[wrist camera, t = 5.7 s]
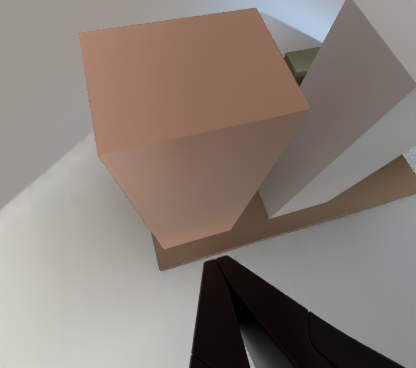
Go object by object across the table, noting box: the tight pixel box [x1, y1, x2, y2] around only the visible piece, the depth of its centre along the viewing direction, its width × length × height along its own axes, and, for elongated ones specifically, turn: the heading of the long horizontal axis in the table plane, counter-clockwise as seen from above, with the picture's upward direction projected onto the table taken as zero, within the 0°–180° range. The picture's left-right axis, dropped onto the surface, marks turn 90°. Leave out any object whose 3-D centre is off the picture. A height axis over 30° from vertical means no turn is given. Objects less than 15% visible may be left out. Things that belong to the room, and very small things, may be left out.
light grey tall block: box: [258, 0, 416, 219], centre depth 11 cm, size 3×4×11 cm
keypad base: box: [151, 47, 416, 271], centre depth 15 cm, size 8×18×6 cm, turn 107°
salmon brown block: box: [79, 8, 311, 249], centre depth 10 cm, size 3×4×11 cm
